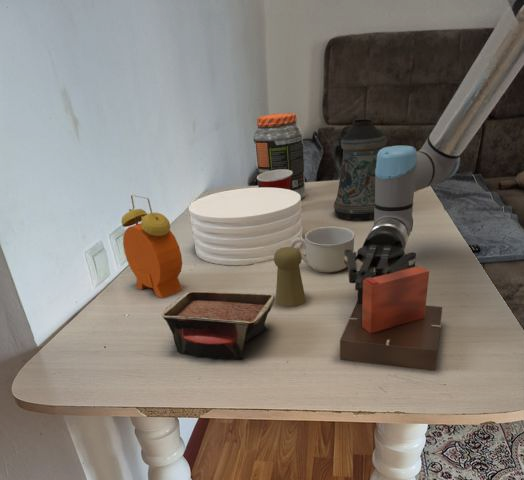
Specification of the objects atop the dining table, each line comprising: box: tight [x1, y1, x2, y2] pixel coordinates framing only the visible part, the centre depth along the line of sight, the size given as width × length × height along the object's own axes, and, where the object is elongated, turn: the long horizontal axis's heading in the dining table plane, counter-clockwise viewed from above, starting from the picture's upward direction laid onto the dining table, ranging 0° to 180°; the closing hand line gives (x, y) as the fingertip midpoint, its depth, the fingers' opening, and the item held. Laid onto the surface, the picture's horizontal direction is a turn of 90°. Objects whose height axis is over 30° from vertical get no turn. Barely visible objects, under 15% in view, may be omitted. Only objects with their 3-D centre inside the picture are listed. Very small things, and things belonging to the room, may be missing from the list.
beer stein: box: [332, 119, 388, 222], centre depth 135 cm, size 16×19×25 cm
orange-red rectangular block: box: [362, 265, 430, 333], centre depth 74 cm, size 10×2×8 cm, turn 112°
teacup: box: [290, 225, 356, 274], centre depth 106 cm, size 14×11×8 cm
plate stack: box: [188, 187, 304, 266], centre depth 123 cm, size 28×28×12 cm
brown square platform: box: [339, 300, 443, 372], centre depth 77 cm, size 14×14×4 cm
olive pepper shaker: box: [273, 247, 307, 308], centre depth 92 cm, size 6×6×11 cm
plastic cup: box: [256, 169, 293, 190], centre depth 147 cm, size 11×11×12 cm
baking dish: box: [161, 290, 275, 361], centre depth 82 cm, size 14×18×10 cm
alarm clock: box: [120, 194, 183, 299], centre depth 102 cm, size 13×6×20 cm, turn 45°
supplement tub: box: [253, 112, 306, 200], centre depth 158 cm, size 16×16×26 cm
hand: (362, 296), depth 74 cm, fingers closed
